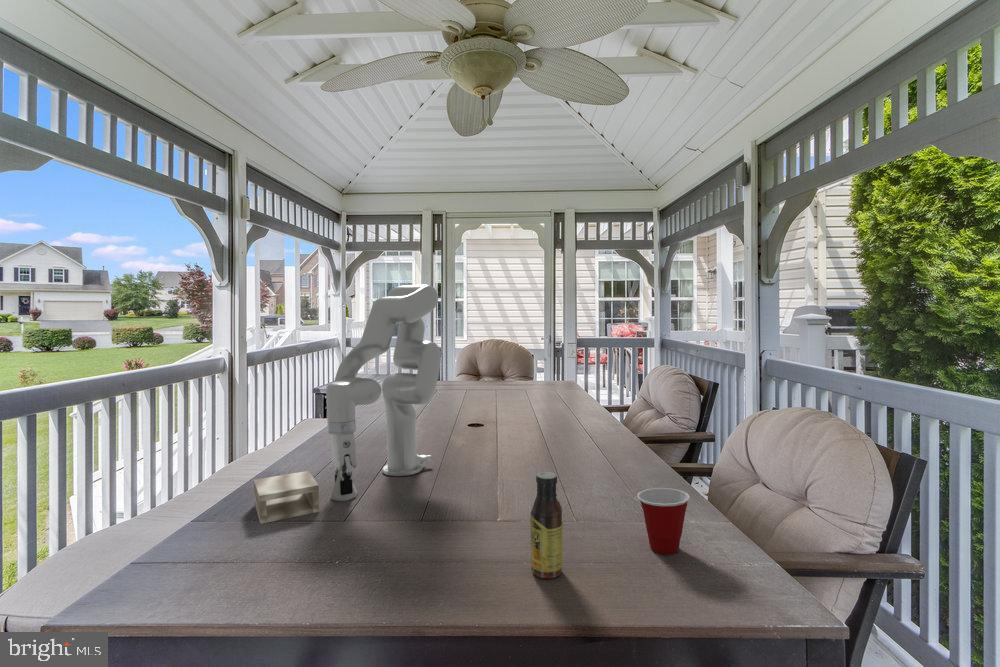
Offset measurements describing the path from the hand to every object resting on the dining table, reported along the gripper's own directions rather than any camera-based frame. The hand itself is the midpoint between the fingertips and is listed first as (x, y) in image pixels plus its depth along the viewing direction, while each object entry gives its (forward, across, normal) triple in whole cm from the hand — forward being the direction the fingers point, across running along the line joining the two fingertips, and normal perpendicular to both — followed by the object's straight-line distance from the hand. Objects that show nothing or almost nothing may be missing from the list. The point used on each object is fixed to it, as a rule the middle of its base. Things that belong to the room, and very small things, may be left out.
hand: (343, 490), depth 145 cm
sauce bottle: (+2, -64, -24) cm, 68 cm away
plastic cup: (+2, -68, -51) cm, 85 cm away
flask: (+2, 0, 0) cm, 2 cm away
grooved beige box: (+2, 0, +15) cm, 15 cm away
